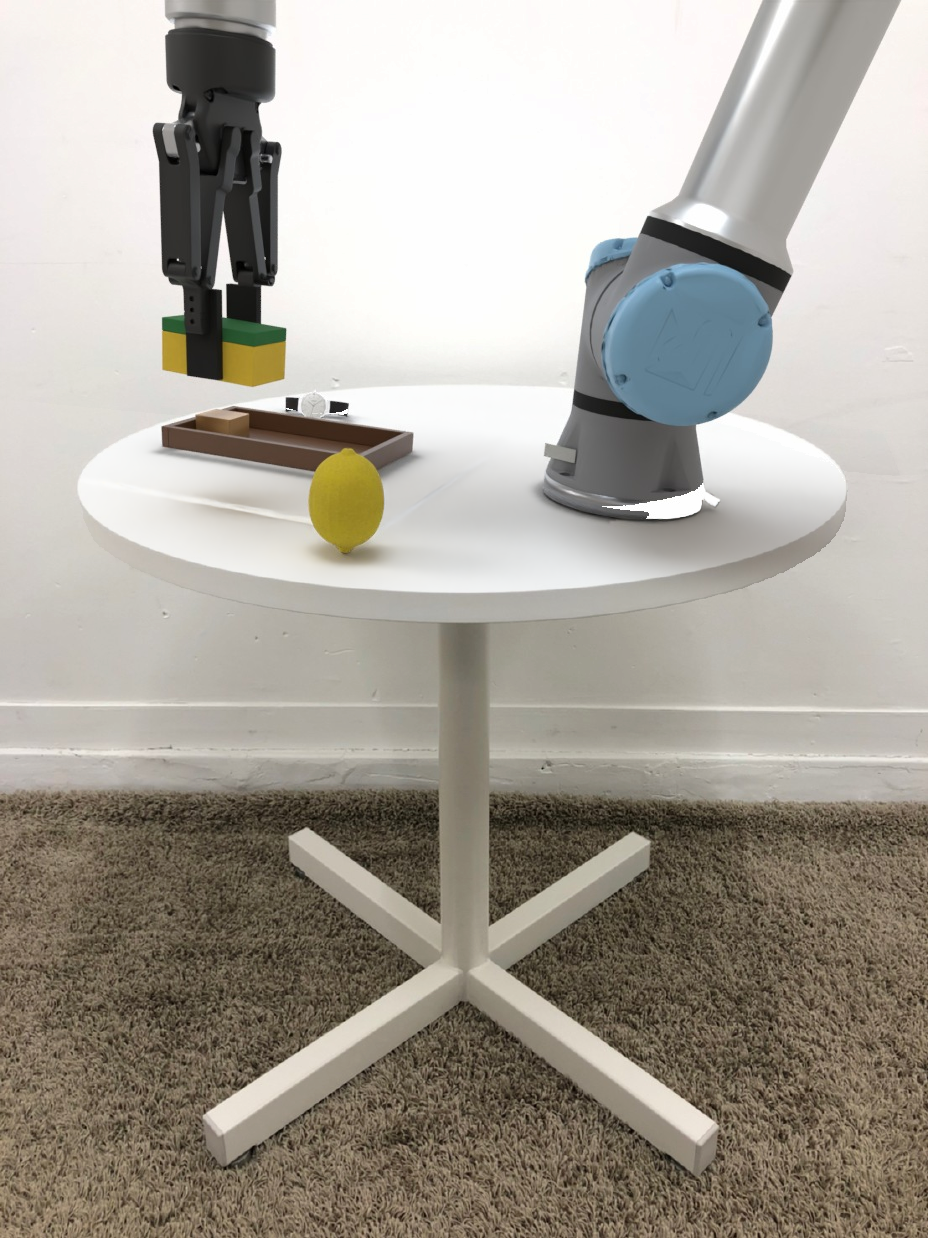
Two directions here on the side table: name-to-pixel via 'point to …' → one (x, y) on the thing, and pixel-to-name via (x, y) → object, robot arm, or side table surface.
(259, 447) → the tray
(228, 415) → the tan wooden block
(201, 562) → the side table surface
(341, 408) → the watch
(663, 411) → the robot arm
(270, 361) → the sponge
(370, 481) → the lemon
